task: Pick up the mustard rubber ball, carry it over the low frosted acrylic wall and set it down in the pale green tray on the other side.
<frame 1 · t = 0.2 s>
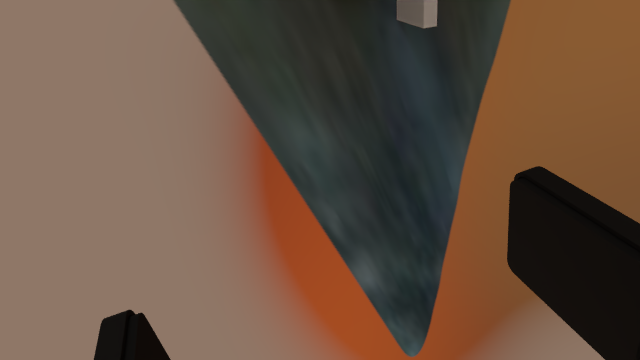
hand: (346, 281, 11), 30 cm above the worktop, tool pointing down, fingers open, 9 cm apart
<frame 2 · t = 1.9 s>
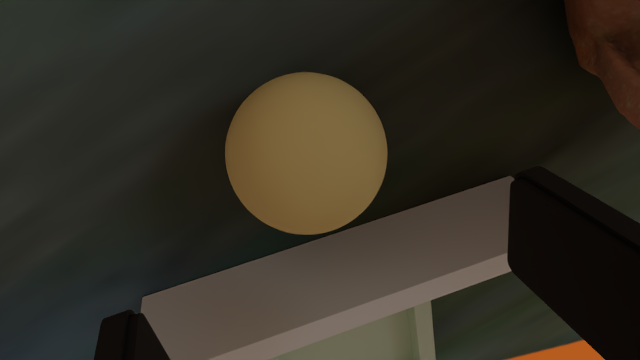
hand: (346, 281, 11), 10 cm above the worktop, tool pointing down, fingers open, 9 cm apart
ball: (306, 154, 16), point 3 cm above the worktop
wall: (339, 241, 22), on the worktop
tray: (342, 335, 26), on the worktop
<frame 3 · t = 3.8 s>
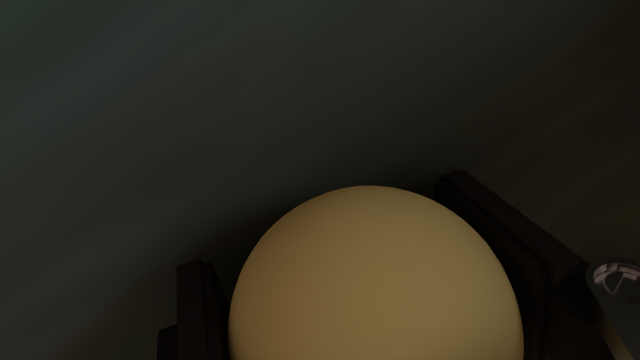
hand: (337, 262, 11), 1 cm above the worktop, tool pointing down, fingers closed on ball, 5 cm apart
ball: (369, 324, 9), point 3 cm above the worktop, touching gripper
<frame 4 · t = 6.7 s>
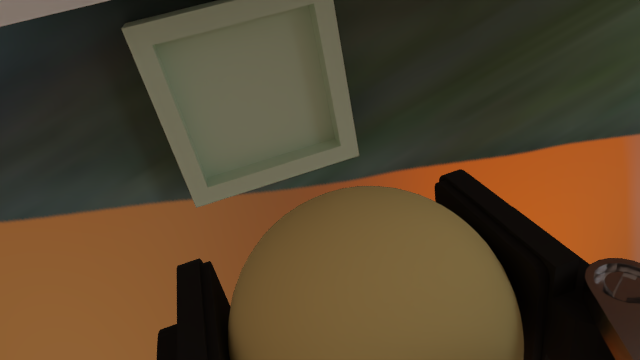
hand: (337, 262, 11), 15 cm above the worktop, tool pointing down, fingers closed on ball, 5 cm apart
ball: (370, 325, 9), point 18 cm above the worktop, touching gripper
tray: (252, 91, 24), on the worktop
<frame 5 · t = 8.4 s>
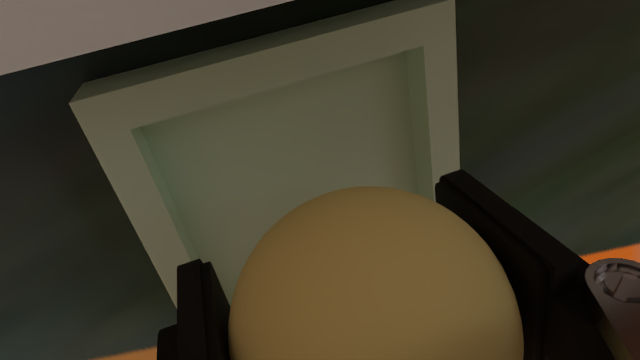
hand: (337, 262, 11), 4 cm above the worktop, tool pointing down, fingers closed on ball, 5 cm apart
ball: (370, 325, 9), point 7 cm above the worktop, touching gripper
tray: (300, 182, 15), on the worktop
when the fingers open (3 cm above the worktop, at t = 9.6 s): ball drops 2 cm, resting on tray.
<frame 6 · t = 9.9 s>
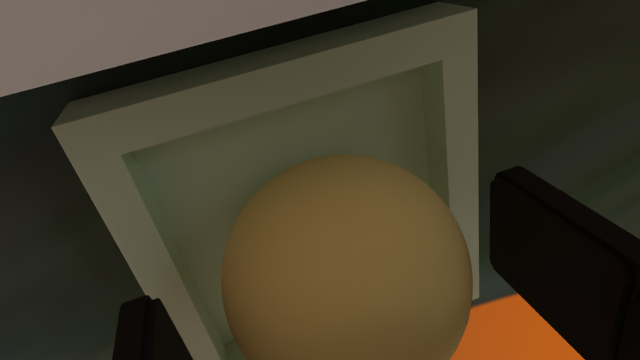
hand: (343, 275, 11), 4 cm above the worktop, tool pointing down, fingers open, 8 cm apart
ball: (344, 274, 11), point 4 cm above the worktop, touching tray
tray: (306, 204, 14), on the worktop
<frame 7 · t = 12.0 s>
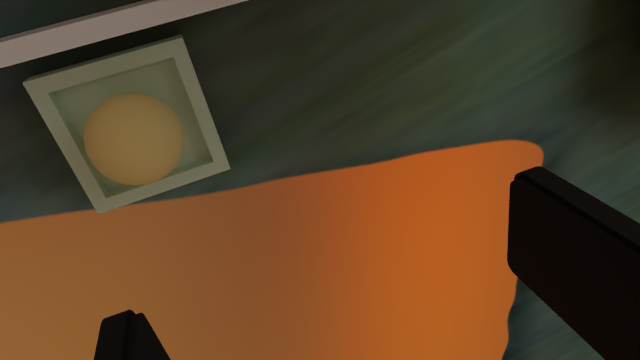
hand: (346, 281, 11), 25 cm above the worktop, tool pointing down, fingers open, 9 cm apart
ball: (135, 139, 28), point 4 cm above the worktop, touching tray
wall: (109, 20, 28), on the worktop
tray: (139, 122, 31), on the worktop
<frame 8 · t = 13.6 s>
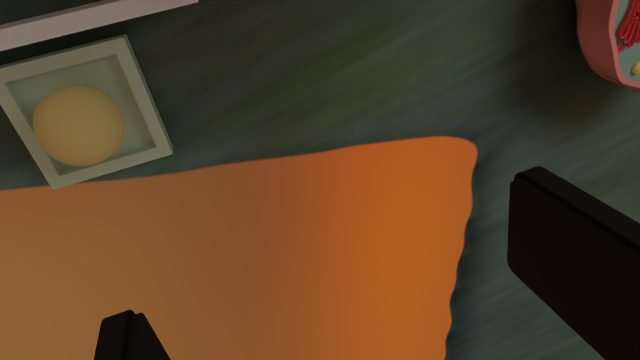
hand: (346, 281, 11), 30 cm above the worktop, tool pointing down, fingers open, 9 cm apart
ball: (80, 126, 32), point 4 cm above the worktop, touching tray
wall: (60, 19, 32), on the worktop
tray: (90, 110, 35), on the worktop
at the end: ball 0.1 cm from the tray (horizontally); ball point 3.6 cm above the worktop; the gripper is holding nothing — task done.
